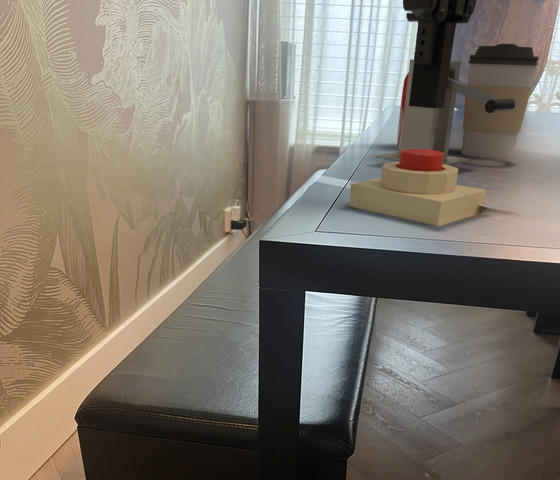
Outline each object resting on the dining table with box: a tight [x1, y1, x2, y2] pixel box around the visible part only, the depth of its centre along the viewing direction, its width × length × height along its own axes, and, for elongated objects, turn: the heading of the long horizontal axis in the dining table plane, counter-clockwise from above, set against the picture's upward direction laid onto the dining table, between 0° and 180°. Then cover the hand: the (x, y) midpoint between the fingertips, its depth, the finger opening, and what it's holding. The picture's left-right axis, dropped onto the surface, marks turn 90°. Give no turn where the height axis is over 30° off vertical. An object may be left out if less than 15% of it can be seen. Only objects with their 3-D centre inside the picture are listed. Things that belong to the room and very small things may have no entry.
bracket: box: [374, 58, 472, 166], centre depth 79 cm, size 10×8×13 cm
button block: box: [348, 161, 487, 227], centre depth 58 cm, size 10×8×4 cm
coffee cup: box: [461, 43, 540, 159], centre depth 84 cm, size 9×9×15 cm
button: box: [399, 149, 444, 171], centre depth 57 cm, size 4×4×2 cm
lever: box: [447, 69, 515, 113], centre depth 75 cm, size 12×5×2 cm, turn 45°
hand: (426, 106), depth 54 cm, fingers closed
